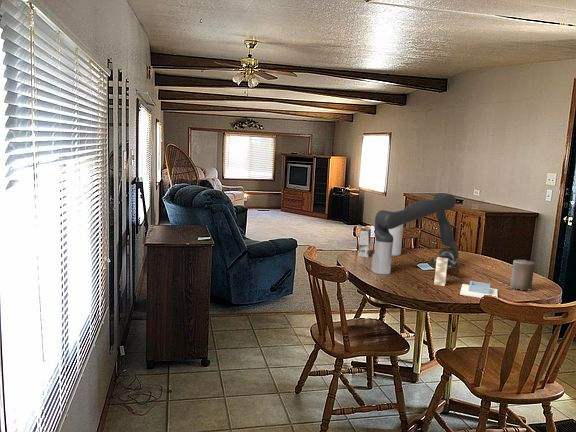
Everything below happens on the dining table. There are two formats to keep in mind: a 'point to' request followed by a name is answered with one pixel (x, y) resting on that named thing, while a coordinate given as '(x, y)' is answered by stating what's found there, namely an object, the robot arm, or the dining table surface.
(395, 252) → the cylinder vase
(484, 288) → the sleeve holder
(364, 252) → the coffee box
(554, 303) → the dining table surface
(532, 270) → the pillar candle
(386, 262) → the robot arm
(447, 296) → the dining table surface
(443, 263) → the birch post
